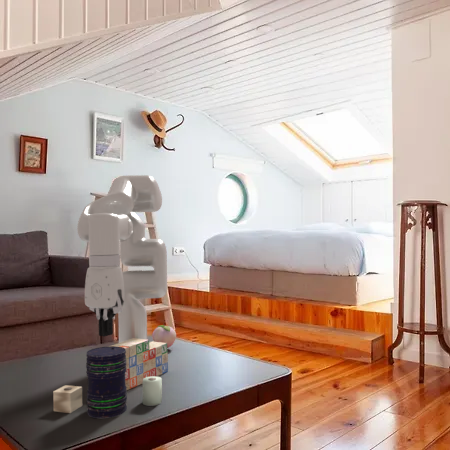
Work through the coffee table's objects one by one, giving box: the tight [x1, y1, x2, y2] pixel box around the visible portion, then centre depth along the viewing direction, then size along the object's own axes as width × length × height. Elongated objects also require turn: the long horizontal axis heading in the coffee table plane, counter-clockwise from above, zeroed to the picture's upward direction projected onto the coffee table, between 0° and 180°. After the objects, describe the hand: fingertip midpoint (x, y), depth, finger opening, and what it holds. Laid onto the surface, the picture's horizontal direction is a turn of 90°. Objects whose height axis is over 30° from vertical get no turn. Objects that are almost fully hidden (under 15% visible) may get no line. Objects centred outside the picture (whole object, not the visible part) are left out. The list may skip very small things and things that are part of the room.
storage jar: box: [85, 345, 128, 419], centre depth 117 cm, size 10×10×15 cm
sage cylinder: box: [141, 376, 163, 407], centre depth 122 cm, size 5×5×6 cm
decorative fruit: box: [151, 324, 177, 349], centre depth 177 cm, size 9×8×10 cm
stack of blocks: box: [110, 338, 169, 391], centre depth 141 cm, size 21×6×12 cm, turn 150°
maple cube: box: [52, 384, 83, 414], centre depth 119 cm, size 5×5×5 cm
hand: (105, 335), depth 117 cm, fingers closed
